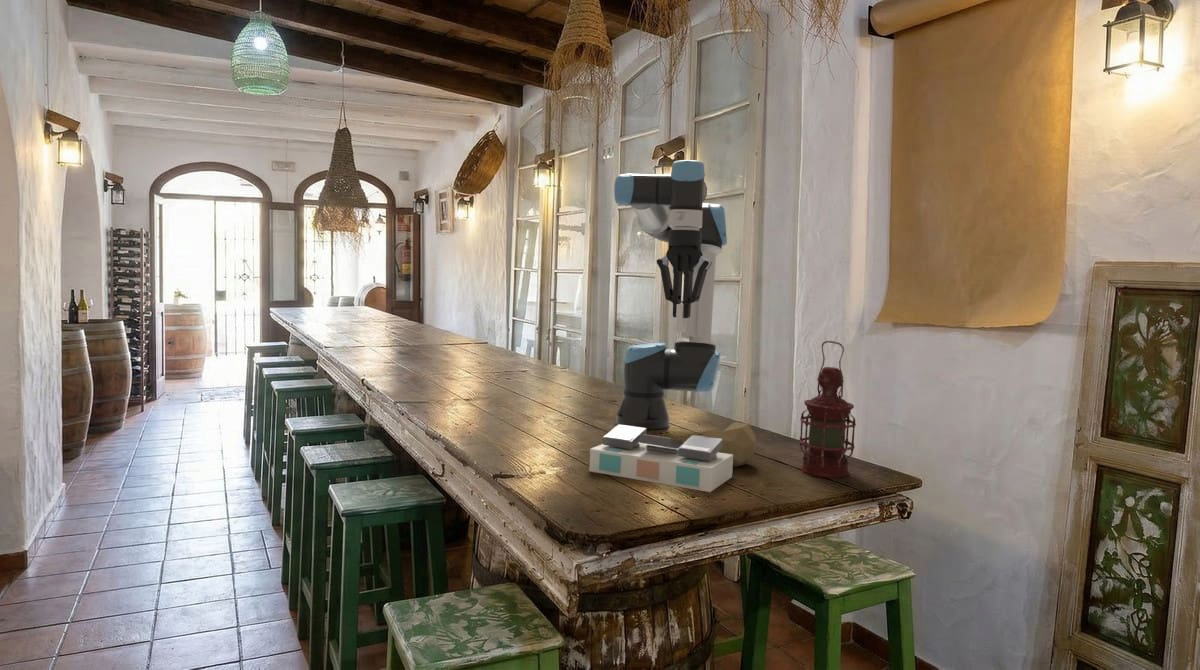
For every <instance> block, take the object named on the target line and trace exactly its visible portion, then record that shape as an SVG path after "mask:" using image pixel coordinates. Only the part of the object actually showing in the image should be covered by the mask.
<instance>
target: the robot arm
mask: <svg viewBox="0 0 1200 670" xmlns="http://www.w3.org/2000/svg"><path fill="white" fill-rule="evenodd" d="M705 176H706V173H705V163H704V162H702V161H700V160H692V159H682V160H681V159H680V160H675V161H674V162H672V165H671V174H651V173H650V174H648V173H644V174H643V173H641V174H640V173H623V174H618V175H617V176H616V178H615V180H614V190H613V191H614V193H613V195H614V200H615V203H616V205H619V206H626V207H629V206H630V207H631V208H632V210H633V211H634V213H635V215H636V217H637V219H636V220H637V223H638V225H639V227H640V229H641V230H642V232H644V233H645V234H646V235H648V236H650V237H651V238H653V239H656V240H657V241H661V242H664V243H667V246H668V247H667V248H668V249H667V251H666V253H665V255H664V256H663V257H661V258H658V259H656V264H657V266H658V268H659V269H660V276H661V280H662V281H661V282H662V285H663V286H662V287H663V292H664V299H665V300H666V301H669V302H671V303H672V316H673V318H675V333H680V336H679V338H678V339H677V340H676V341H674V347H673V348H668V345H667V343H665V342H653V343H652V342H651V343H649V342H648V343H641V344H635V345H631V346H629V347H627V348H626V350H625V355H624V356H625V357H624V363H623V364H624V370H623V372H624V373H623V374H624V376H623V396H622V400H621V403H620V405H619V408H618V410H617V414H616V417H615V418H616V419H615V420H616V421H615V423H616V425H619V424H620V425H627V426H635V427H642V428H647V430H660V429H661V430H662V429H666V428H668V427H669V426H670V415H669V412H668V409H667V405H666V401H665V391H666V390H668V391H680V392H683V391H684V392H694V393H699V392H700V393H709V392H712V391H713V390H714V388H715V386H716V382H717V377H718V374H719V373H718V372H719V367H720V361H721V360H720V359H721V352H720V351H719V350H716V349H717V348H716V346H717V345H716V344H715V342H714V341H713V340H712V325H713V324H712V323H713V310H714V309H713V308H714V307H713V306H714V304H713V303H714V292H715V290H714V289H715V277H716V276H715V275H716V259H717V256H718V255H719V254H720V253H722V250H723V249H722V248H723V247H724V246H726V245H727V244H728V238H727V223H726V213H725V208H724V206H723V205H722V204H717V203H710V202H707V203H706V202H705V201H706V198H707V195H708V187H707V184H706V182H705ZM704 202H705V203H704ZM722 246H723V247H722ZM669 264H670V265H671V267H672V273H673V283H672V278H671V271H670V267H669ZM682 290H683V292H682ZM682 294H683V295H682Z"/></svg>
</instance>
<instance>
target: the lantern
mask: <svg viewBox="0 0 1200 670" xmlns="http://www.w3.org/2000/svg"><path fill="white" fill-rule="evenodd" d="M826 343H827V344H828V343H831V344H835V345H839V346H840V347H841V348H842V351H841V352H842V353H841V355H840V358H839V361H838V363H839V364H838V367H835V366H834V367H833V366H832V367H831V366H825V365H824V364H825V360H826V359H825V358H826V357H825V353H824V345H825V344H826ZM844 352H845V347H844V346H843V344H842V343H840V342H838V341H832V340H825V341H823V342H822V344H821V353H822V365H821V367H820V370H819V371H818V372H819V373H818V377H817V379H816V380H817V388H816V389H817V396H815V397H813V398H811V399H805V400H804V402H803V403H804V406H806V409H805V410H803V411H802V412H801V415H800V434H799V435H800V436H799V440H798V443H799V447H800V450H801V451H802V453H803V457H802V460H803V462H802V465H801V467H800V470H801V471H802V472H803V473H804V474H807V475H810V476H814V477H818V478H819V477H820V478H827V479H840V478H845V477H847V476H849V466H848V465H849V459H850V458H851V457H852V456H853V454H854V449H855V428H856V425H857V424H856V419H855V416H854V415H852V414H851V410H852V409H854V408H855V405H854V404H853V403H851V402H847V401H846V400H845V399H844V398H843V396H844V395H843V394H844V393H843V392H844V380H845V379H844V376H843V372H842V369H841V368H842V367H841V364H842V363H841V361H842V358H843V356H844ZM838 389H839V392H838ZM806 412H808V414H807V415H806V416H805V415H804V414H805V413H806ZM850 416H851V418H852V419H851V418H850ZM804 425H805V426H804ZM803 426H804V427H805V435H804V437H803ZM808 427H809V429H808ZM851 428H852V435H851V441H849V429H851ZM808 430H809V431H808ZM848 446H849V447H848ZM803 448H804V450H803ZM847 451H850V454H849V455H848V456H847V457H846V454H845V453H846V452H847Z"/></svg>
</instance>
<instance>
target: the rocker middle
mask: <svg viewBox="0 0 1200 670" xmlns="http://www.w3.org/2000/svg"><path fill="white" fill-rule="evenodd" d="M684 442H685V441H684V440H679V439H674V438H672V437H666V436H660V435H653V434H647V435H646V434H643V435H642V434H641V437H640V443H645V444H652V445H658V446H665V447H672V448H679V447H680V446H681V445H682V444H683V443H684Z"/></svg>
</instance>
